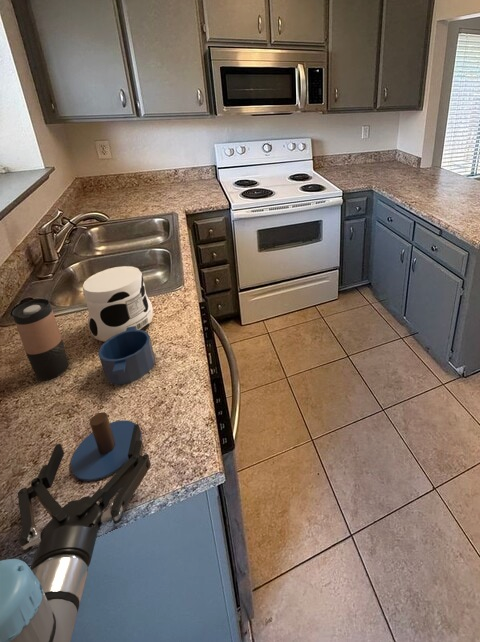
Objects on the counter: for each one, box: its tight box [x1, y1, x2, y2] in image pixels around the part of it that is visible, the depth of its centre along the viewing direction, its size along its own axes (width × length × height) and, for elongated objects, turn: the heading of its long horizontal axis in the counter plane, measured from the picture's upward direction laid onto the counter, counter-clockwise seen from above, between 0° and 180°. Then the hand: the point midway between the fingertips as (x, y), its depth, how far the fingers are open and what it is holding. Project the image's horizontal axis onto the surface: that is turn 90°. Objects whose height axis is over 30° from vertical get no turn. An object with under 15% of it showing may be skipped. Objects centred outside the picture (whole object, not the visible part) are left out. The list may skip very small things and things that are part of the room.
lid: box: [70, 411, 142, 482], centre depth 72 cm, size 13×13×9 cm
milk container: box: [82, 265, 154, 343], centre depth 108 cm, size 17×17×18 cm
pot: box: [97, 326, 156, 386], centre depth 94 cm, size 12×17×8 cm
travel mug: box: [11, 298, 69, 382], centre depth 92 cm, size 8×8×20 cm
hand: (100, 438), depth 70 cm, fingers open, 13 cm apart
